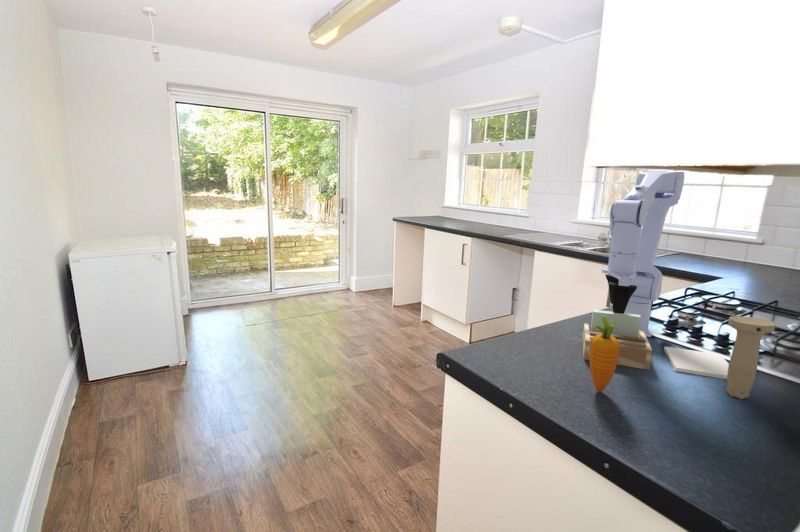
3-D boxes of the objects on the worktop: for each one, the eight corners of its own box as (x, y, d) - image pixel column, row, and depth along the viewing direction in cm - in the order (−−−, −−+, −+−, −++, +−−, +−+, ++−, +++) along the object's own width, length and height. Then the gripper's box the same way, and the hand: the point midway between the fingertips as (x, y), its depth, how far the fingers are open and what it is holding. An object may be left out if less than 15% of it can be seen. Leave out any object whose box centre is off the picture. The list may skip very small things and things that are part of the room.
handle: (765, 404, 72) (781, 327, 68) (723, 399, 73) (738, 323, 70) (749, 391, 76) (764, 318, 73) (711, 386, 78) (724, 315, 75)
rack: (582, 339, 101) (584, 319, 100) (640, 347, 96) (643, 326, 95) (583, 359, 90) (585, 336, 89) (649, 369, 85) (653, 346, 84)
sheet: (589, 343, 99) (592, 309, 97) (634, 350, 95) (639, 314, 93) (589, 346, 97) (593, 311, 95) (635, 353, 93) (640, 317, 91)
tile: (663, 349, 95) (664, 346, 95) (719, 357, 91) (720, 354, 91) (675, 371, 84) (675, 367, 84) (739, 381, 80) (740, 377, 80)
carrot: (612, 401, 73) (622, 324, 70) (583, 394, 75) (591, 319, 72) (614, 389, 77) (623, 316, 74) (586, 382, 79) (594, 312, 76)
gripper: (602, 246, 99) (596, 298, 102) (606, 256, 86) (599, 315, 89) (634, 248, 96) (627, 301, 99) (643, 258, 83) (635, 319, 86)
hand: (616, 308), depth 94 cm, fingers open, 7 cm apart
